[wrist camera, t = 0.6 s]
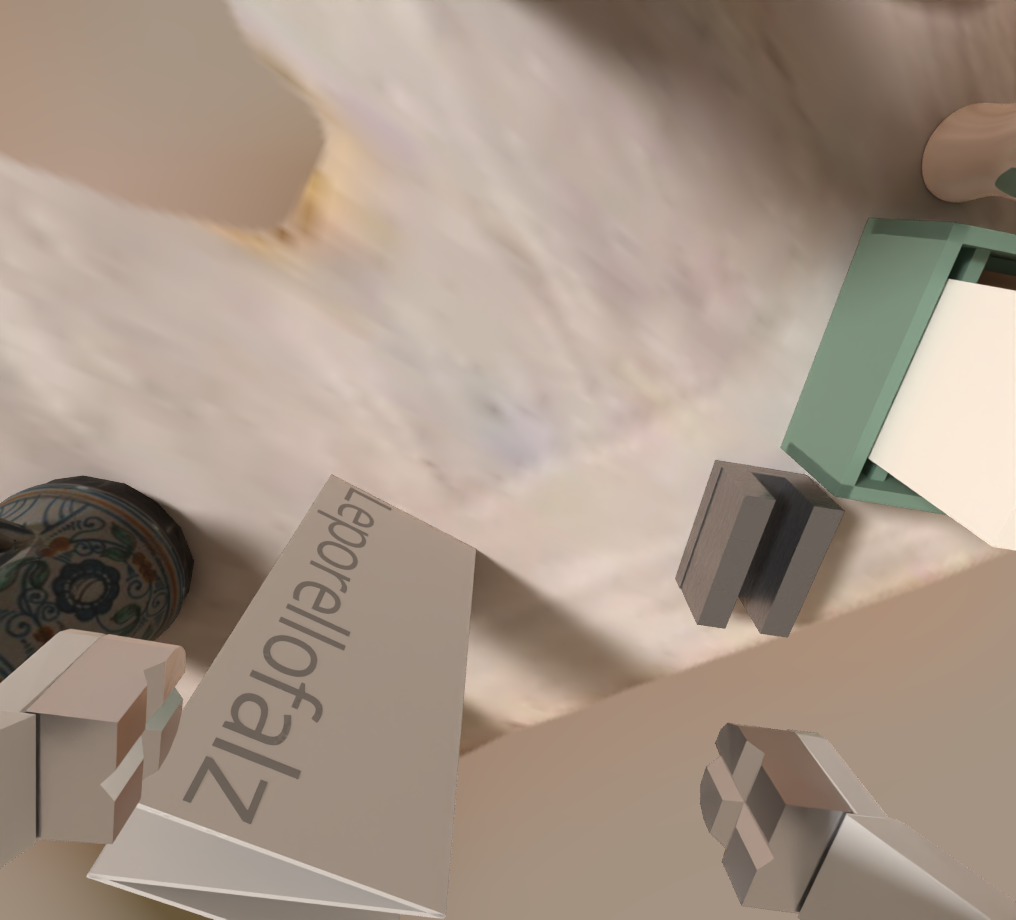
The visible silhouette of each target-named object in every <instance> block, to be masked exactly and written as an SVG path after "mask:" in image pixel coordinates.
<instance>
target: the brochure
mask: <svg viewBox="0 0 1016 920" xmlns="http://www.w3.org/2000/svg"><path fill="white" fill-rule="evenodd" d="M475 557H476V549H475V548H473V547H471V546H469V545H467V544H465V543H463V542H461V541H459V540H457V539H456V538H454V537H452V536H450V535H448V534H446V533H444V532H442V531H440V530H438V529H436V528H434V527H432V526H430V525H428V524H426V523H424V522H423V521H421V520H419V519H417V518H415V517H413V516H411V515H409V514H407V513H405V512H403V511H401V510H399V509H397V508H395V507H393V506H392V505H390V504H388V503H386V502H384V501H382V500H380V499H378V498H376V497H374V496H372V495H370V494H368V493H366V492H364V491H362V490H361V489H359V488H357V487H355V486H353V485H351V484H349V483H347V482H345V481H343V480H341V479H339V478H337V477H335V476H333V475H331V476H330V478H329V479H328V481H327V482H326V484H325V485H324V487H323V489H322V490H321V492H320V493H319V495H318V497H317V498H316V500H315V501H314V503H313V505H312V506H311V508H310V509H309V511H308V512H307V514H306V516H305V517H304V519H303V520H302V522H301V524H300V525H299V527H298V528H297V530H296V531H295V533H294V535H293V536H292V538H291V539H290V541H289V543H288V544H287V546H286V547H285V549H284V550H283V552H282V554H281V555H280V557H279V558H278V560H277V562H276V563H275V565H274V566H273V568H272V569H271V571H270V573H269V574H268V576H267V577H266V579H265V581H264V582H263V584H262V585H261V587H260V589H259V590H258V592H257V593H256V595H255V596H254V598H253V600H252V601H251V603H250V604H249V606H248V608H247V609H246V611H245V612H244V614H243V615H242V617H241V619H240V620H239V622H238V623H237V625H236V627H235V628H234V630H233V631H232V633H231V634H230V636H229V638H228V639H227V641H226V642H225V644H224V646H223V647H222V649H221V650H220V652H219V653H218V655H217V657H216V658H215V660H214V661H213V663H212V665H211V666H210V668H209V669H208V671H207V673H206V674H205V676H204V677H203V679H202V680H201V682H200V684H199V685H198V687H197V688H196V690H195V692H194V693H193V695H192V696H191V698H190V699H189V701H188V703H187V704H186V706H185V707H184V709H183V711H182V713H181V718H180V722H179V727H178V731H177V734H176V736H175V739H174V741H173V744H172V746H171V749H170V751H169V754H168V755H167V757H166V759H165V760H164V762H163V764H162V765H161V767H160V769H159V770H158V771H157V772H155V773H154V774H152V775H150V776H149V777H147V778H145V779H143V780H142V792H141V800H140V801H139V803H138V804H137V806H136V808H135V809H134V811H133V812H132V814H131V816H130V817H129V819H128V820H127V822H126V824H125V825H124V827H123V828H122V830H121V832H120V833H119V835H118V836H117V838H116V840H115V841H114V843H113V844H106V845H105V847H104V849H103V850H102V852H101V853H100V855H99V857H98V858H97V860H96V861H95V863H94V865H93V866H92V868H91V870H90V871H89V873H88V875H87V878H90V879H94V880H96V881H99V882H103V883H106V884H109V885H112V886H115V887H118V888H121V889H124V890H127V891H130V892H133V893H136V894H139V895H142V896H145V897H148V898H151V899H154V900H157V901H160V902H163V903H166V904H169V905H172V906H175V907H178V908H181V909H184V910H187V911H190V912H193V913H196V914H199V915H202V916H205V917H209V918H211V919H214V920H399V919H400V914H407V915H415V916H424V917H432V918H441V919H444V918H445V915H446V907H447V894H448V882H449V871H450V858H451V847H452V835H453V822H454V811H455V798H456V786H457V774H458V762H459V750H460V738H461V726H462V714H463V702H464V690H465V678H466V665H467V653H468V641H469V629H470V617H471V605H472V593H473V581H474V569H475Z"/></svg>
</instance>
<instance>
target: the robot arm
mask: <svg viewBox="0 0 1016 920" xmlns="http://www.w3.org/2000/svg"><path fill="white" fill-rule="evenodd" d="M185 657H186V652H185V650H184V649H183V647H182V646H179V645H172V644H166V643H160V642H154V641H148V640H141V639H135V638H129V637H123V636H117V635H111V634H108V635H106V634H103V633H96V632H89V631H82V630H76V629H68V630H64V631H60V632H59V633H57V634H56V635H55V636H54V637H53V638H52V639H50V640H49V641H48V642H47V643H46V644H45V645H44V646H42V647H41V648H40V649H39V650H38V651H37V652H36V653H34V654H33V655H32V656H31V657H30V658H29V659H28V660H26V661H25V662H24V663H23V664H22V665H21V666H20V667H18V668H17V669H16V670H15V671H14V672H13V673H12V674H10V675H9V676H8V677H7V678H6V679H5V680H3V681H2V682H1V683H0V868H1V867H3V866H4V865H6V864H7V863H8V862H10V861H11V860H13V859H14V858H16V857H17V856H19V855H20V854H22V853H23V852H24V851H26V850H27V849H29V848H30V847H32V846H33V845H34V844H36V839H42V840H56V841H72V842H86V843H100V844H113V843H114V841H115V840H116V838H117V836H118V835H119V833H120V832H121V830H122V828H123V827H124V825H125V824H126V822H127V820H128V819H129V817H130V816H131V814H132V812H133V811H134V809H135V808H136V806H137V804H138V803H139V801H140V800H141V792H142V780H143V779H145V778H147V777H149V776H150V775H152V774H154V773H155V772H157V771H158V770H159V769H160V767H161V765H162V764H163V762H164V760H165V759H166V757H167V755H168V754H169V751H170V749H171V746H172V744H173V741H174V739H175V736H176V734H177V731H178V727H179V722H180V718H181V713H182V702H183V698H182V697H181V695H180V694H179V693H178V691H177V690H176V688H175V686H176V684H177V683H178V681H179V680H180V678H181V677H182V676H183V674H184V673H185ZM715 744H716V747H717V749H718V752H719V755H720V756H719V757H718V758H717V759H715V760H714V761H713V762H711V763H710V764H709V765H708V766H707V767H706V769H705V772H704V775H703V778H702V781H701V787H700V805H701V809H702V814H703V819H704V821H705V823H706V826H707V828H708V831H709V833H710V834H711V835H712V836H713V837H714V838H715V839H716V840H717V841H718V842H720V844H721V845H722V846H723V847H724V848H725V852H724V856H723V859H722V863H723V865H724V867H725V870H726V872H727V874H728V876H729V879H730V881H731V883H732V885H733V888H734V890H735V892H736V894H737V897H738V899H739V901H740V903H741V906H743V907H751V908H759V909H767V910H774V911H781V912H790V913H797V914H799V915H798V918H799V919H800V920H1016V901H1014V900H1013V899H1012V898H1010V897H1009V896H1007V895H1006V894H1004V893H1003V892H1002V891H1000V890H999V889H997V888H996V887H994V886H993V885H991V884H990V883H989V882H987V881H986V880H984V879H983V878H982V877H980V876H979V875H977V874H976V873H974V872H973V871H971V870H970V869H969V868H967V867H966V866H964V865H963V864H961V863H960V862H958V861H957V860H956V859H954V858H953V857H951V856H950V855H949V854H947V853H946V852H944V851H943V850H941V849H940V848H939V847H937V846H936V845H934V844H933V843H931V842H930V841H928V840H927V839H926V838H924V837H923V836H921V835H920V834H918V833H917V832H916V831H914V830H913V829H911V828H910V827H908V826H907V825H906V824H904V823H903V822H901V821H900V820H896V819H889V818H888V816H887V815H886V814H885V812H884V811H883V810H882V809H881V807H880V806H879V805H878V803H877V802H876V801H875V800H874V798H873V797H872V796H871V794H870V793H869V792H868V791H867V790H866V788H865V787H864V786H863V784H862V783H861V782H860V781H859V779H858V778H857V777H856V775H855V774H854V773H853V772H852V770H851V769H850V768H849V767H848V765H847V764H846V763H845V761H844V760H843V759H842V758H841V756H840V755H839V754H838V753H837V751H836V750H835V749H834V748H833V746H832V745H831V744H830V742H829V741H828V740H827V739H826V738H824V737H823V736H821V735H820V734H818V733H814V732H805V731H796V730H786V731H785V730H778V729H771V728H762V727H756V726H748V725H740V724H733V723H727V724H726V725H725V726H724V727H723V728H722V729H721V731H720V732H719V735H718V737H717V740H716V742H715Z"/></svg>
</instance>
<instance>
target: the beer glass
mask: <svg viewBox="0 0 1016 920" xmlns="http://www.w3.org/2000/svg"><path fill="white" fill-rule="evenodd" d="M922 175H923V179H924V182H925V184H926V186H927V188H928V189H929V191H930V192H931V193H932V194H933V195H934V196H936V197H937V198H939V199H941V200H944V201H948V202H965V201H970V200H974V199H978V198H982V197H986V196H999V197H1004V198H1008V199H1012V200H1015V201H1016V102H1015V103H1011V104H999V103H976V104H971V105H968V106H965V107H963V108H960V109H959V110H957V111H955V112H953V113H952V114H951V115H949V116H948V117H947V118H946V119H944V120H943V121H942V122H941V123H940V124H939V126H938V127H937V128H936V129H935V131H934V132H933V134H932V135H931V137H930V139H929V141H928V143H927V145H926V147H925V150H924V154H923V159H922Z"/></svg>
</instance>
